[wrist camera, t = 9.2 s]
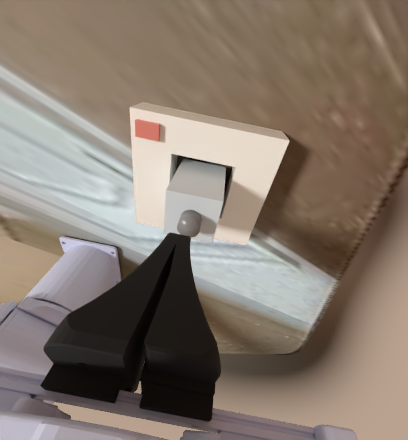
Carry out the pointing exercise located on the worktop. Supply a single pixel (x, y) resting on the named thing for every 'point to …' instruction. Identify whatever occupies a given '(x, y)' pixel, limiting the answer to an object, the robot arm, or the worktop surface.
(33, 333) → the robot arm
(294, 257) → the worktop surface
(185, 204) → the plug
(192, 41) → the worktop surface
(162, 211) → the socket box
